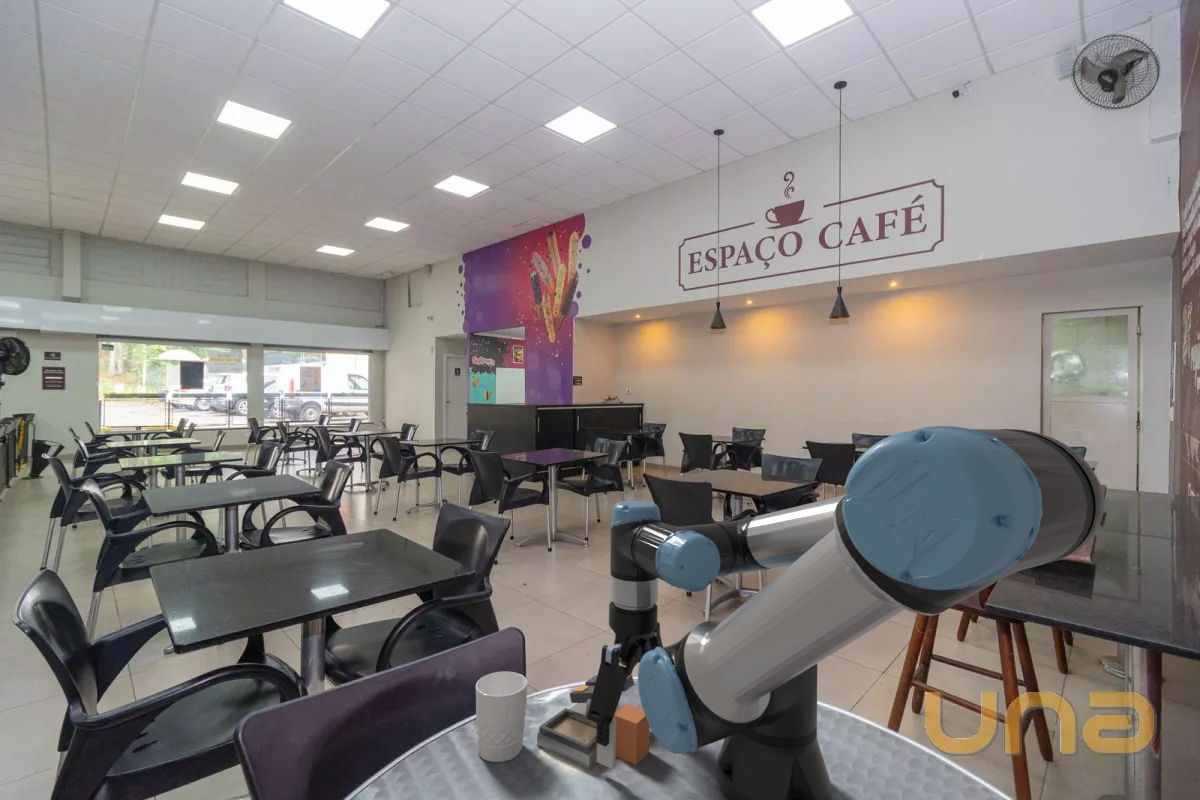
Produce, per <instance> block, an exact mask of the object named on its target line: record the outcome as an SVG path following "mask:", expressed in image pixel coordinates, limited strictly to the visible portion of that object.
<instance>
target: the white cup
mask: <svg viewBox="0 0 1200 800" xmlns="http://www.w3.org/2000/svg"><path fill="white" fill-rule="evenodd" d="M527 679H528V678H527V677H526V676H524V675H523V674H521V673H518V672H513V671H497V672H495V671H494V672H492V673H489V674H485V675H483V676H482V677H480V678H479V679H478V680H477V682H475V683H476V684H475V709H476V710H475V718H476V735H477V746H478V747H477V749H478V755H479V757H480V758H482V760H484V761H487V762H489V763H504V762H508V761H511V760H513V759H514V758H516V757H517V756H519V755H520V753H521V751H522V749H523V744H524V743H523V741H524V731H525V722H526V712H527V711H526V710H527V695H528V680H527Z"/></svg>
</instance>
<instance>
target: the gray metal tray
mask: <svg viewBox="0 0 1200 800" xmlns="http://www.w3.org/2000/svg"><path fill="white" fill-rule="evenodd" d="M626 705H627V704H625V703H620V702H619V703H618V705H617V708H616V711H615V714H616V713H617V712H618V711H620V710H621V709H622V708H623V707H624V706H626ZM588 711H589V706H588V705H587V703H575V704H574V705H573V706H572V707H571V708H567V707H564V709H562V710H561V711H559V712H558V713H556V714H555V715H554V716H552V717H551V718H549V719H548V720H546V721H545V722H544V723H542V724H541V725H540V726H539V729H538V731H537V733H536V746H538V747H540V748H542V749H543V750H546V751H548V752H550V753H552V754H554V755H556V756H559V757H561V758H563V759H565V760H568V761H570V762H572V763H574V764H576V765H578V766H580V767H582V768H585V769H587V770H589V771H590V769H592V768H593V767H594V766H595V765H596V764H598V762H597V723H596V722H593V721H591V720H589V719H588V718H587V715H588ZM615 714H614V715H615ZM613 719H614V717H613Z"/></svg>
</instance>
